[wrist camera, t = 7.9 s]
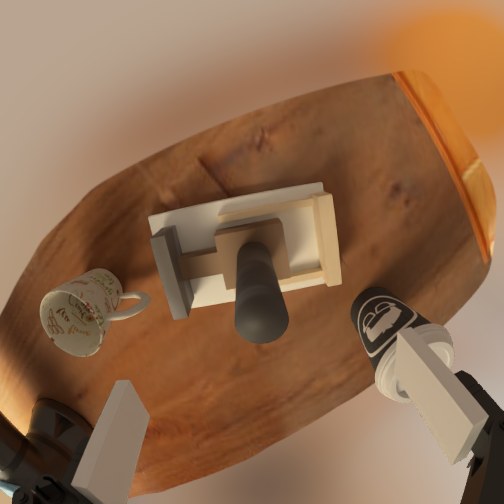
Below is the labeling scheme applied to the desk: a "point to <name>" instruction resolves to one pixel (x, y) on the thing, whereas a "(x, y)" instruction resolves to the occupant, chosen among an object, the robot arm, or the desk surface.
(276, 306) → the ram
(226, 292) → the white slotted peg base
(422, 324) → the coffee cup
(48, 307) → the mug
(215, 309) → the desk surface
